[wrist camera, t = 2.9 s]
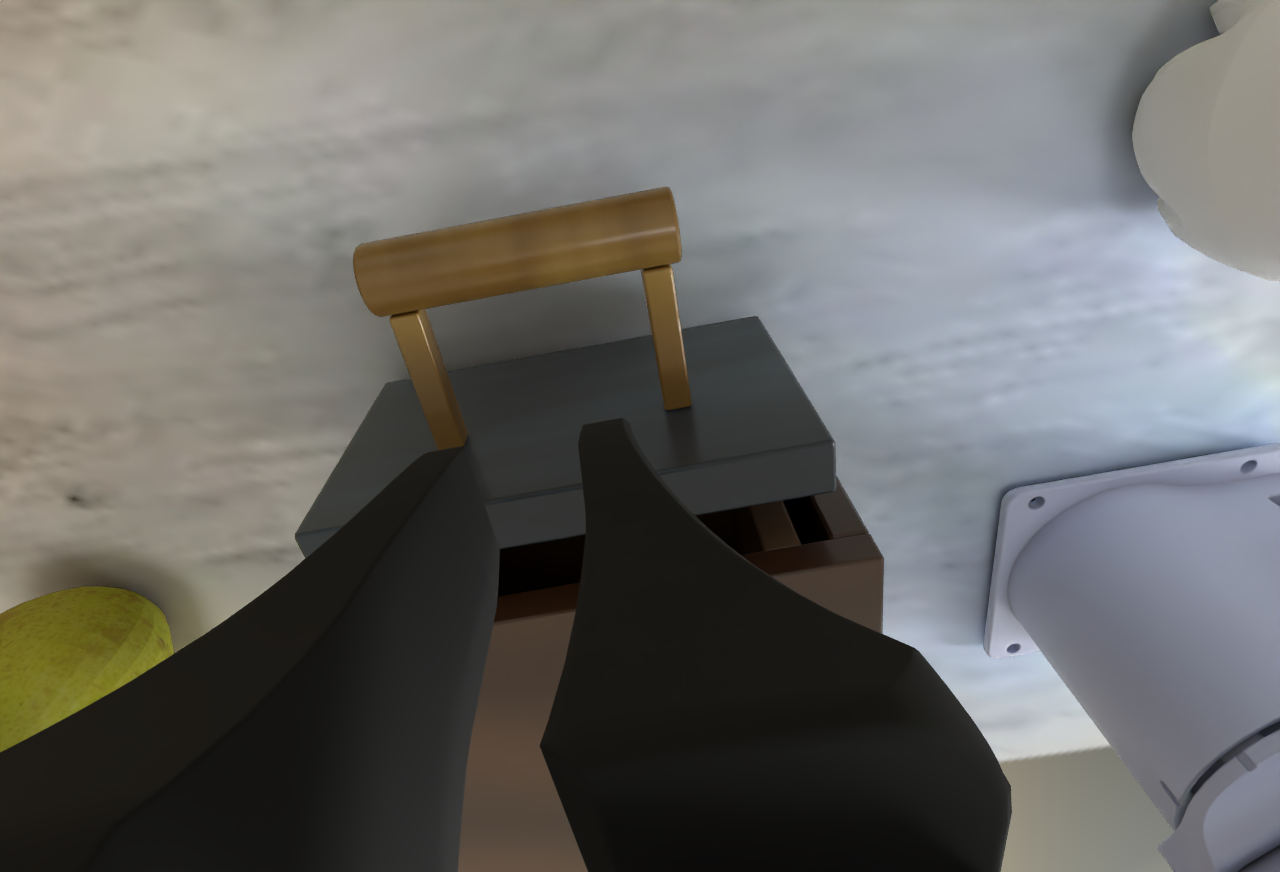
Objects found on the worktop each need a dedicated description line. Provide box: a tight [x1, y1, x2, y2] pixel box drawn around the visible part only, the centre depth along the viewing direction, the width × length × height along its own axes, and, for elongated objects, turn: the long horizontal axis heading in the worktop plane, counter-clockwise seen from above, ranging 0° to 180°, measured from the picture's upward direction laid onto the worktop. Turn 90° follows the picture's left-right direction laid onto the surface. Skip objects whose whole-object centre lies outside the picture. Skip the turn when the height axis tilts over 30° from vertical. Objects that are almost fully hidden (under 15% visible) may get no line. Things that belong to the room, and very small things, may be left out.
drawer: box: [295, 187, 836, 597], centre depth 18 cm, size 17×10×7 cm, turn 9°
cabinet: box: [458, 476, 884, 872], centre depth 20 cm, size 14×12×9 cm
